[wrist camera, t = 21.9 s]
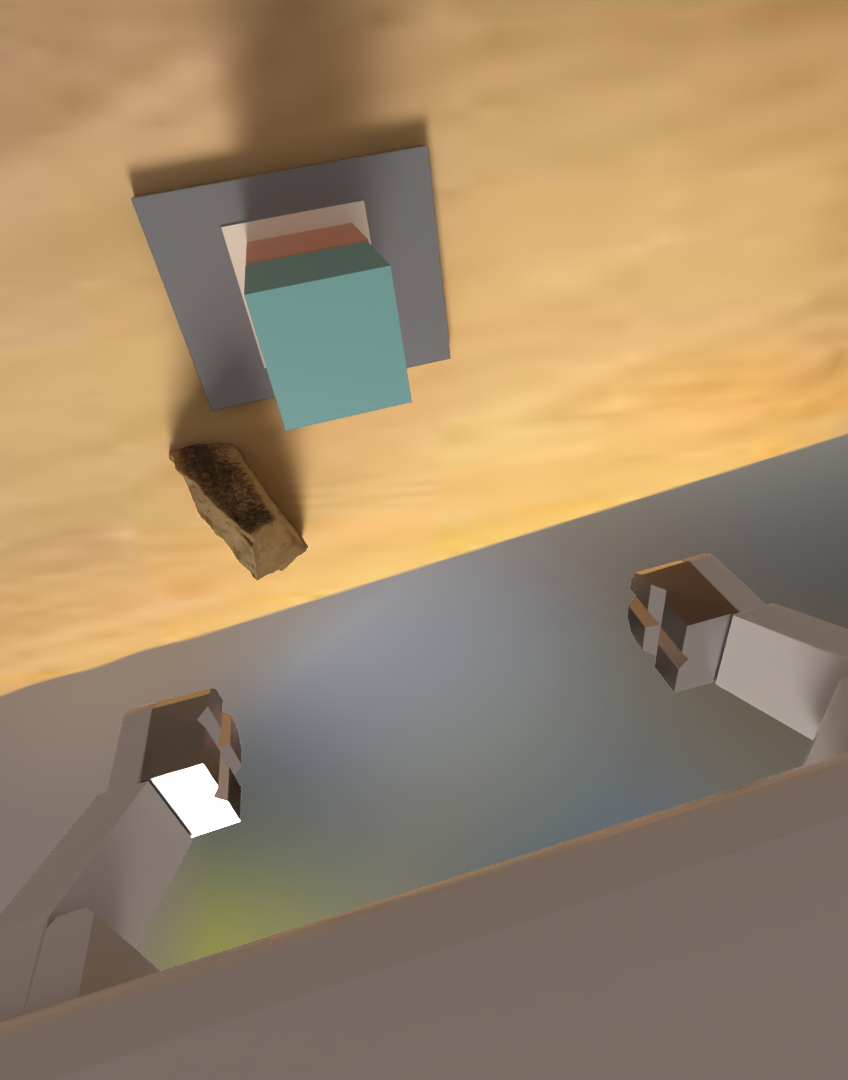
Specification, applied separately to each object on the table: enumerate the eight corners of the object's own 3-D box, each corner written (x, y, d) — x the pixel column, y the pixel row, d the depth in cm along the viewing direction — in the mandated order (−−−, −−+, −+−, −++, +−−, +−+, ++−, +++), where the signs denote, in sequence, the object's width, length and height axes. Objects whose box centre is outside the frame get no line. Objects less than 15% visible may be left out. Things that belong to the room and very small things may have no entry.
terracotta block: (351, 222, 33) (368, 239, 29) (371, 328, 37) (388, 359, 32) (246, 242, 33) (245, 262, 28) (276, 347, 36) (280, 382, 32)
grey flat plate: (423, 144, 33) (428, 145, 32) (446, 353, 40) (451, 358, 39) (134, 196, 31) (130, 198, 30) (212, 404, 39) (211, 411, 38)
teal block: (367, 241, 29) (390, 265, 24) (388, 360, 32) (411, 402, 28) (245, 264, 28) (243, 294, 23) (280, 384, 32) (285, 430, 27)
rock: (344, 562, 46) (336, 456, 39) (281, 643, 40) (259, 535, 33) (229, 521, 49) (203, 416, 42) (155, 591, 43) (110, 482, 36)
